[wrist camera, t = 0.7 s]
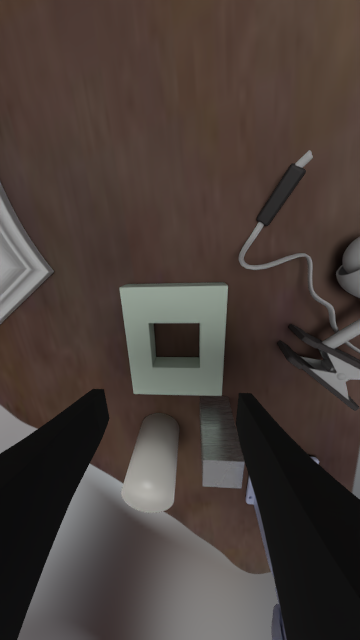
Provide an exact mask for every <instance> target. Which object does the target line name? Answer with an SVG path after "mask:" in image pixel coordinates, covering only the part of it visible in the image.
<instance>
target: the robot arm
mask: <svg viewBox="0 0 360 640" xmlns="http://www.w3.org/2000/svg"><path fill="white" fill-rule="evenodd" d="M108 421H109V414H108V409H107V403H106V398H105V393H104V389H92V390H91V391H89V392H88V393H87V394H85V395H84V396H83V397H81V398H80V399H79V400H77V401H76V402H75V403H73V404H72V405H71V406H69V407H68V408H67V409H65V410H64V411H63V412H61V413H60V414H59V415H57V416H56V417H55V418H53V419H52V420H50V421H49V422H47V423H46V424H45V425H43V426H42V427H40V428H39V429H37V430H36V431H35V432H33V433H32V434H30V435H29V436H27V437H26V438H24V439H23V440H21V441H20V442H18V443H17V444H15V445H14V446H12V447H10V448H9V449H7V450H5V451H4V452H2V453H1V454H0V640H17V638H18V635H19V633H20V630H21V627H22V624H23V621H24V619H25V616H26V613H27V610H28V607H29V605H30V602H31V599H32V597H33V594H34V592H35V589H36V586H37V583H38V581H39V578H40V576H41V573H42V570H43V567H44V565H45V563H46V560H47V557H48V555H49V552H50V550H51V547H52V545H53V542H54V540H55V537H56V535H57V532H58V530H59V528H60V525H61V523H62V520H63V518H64V516H65V513H66V511H67V508H68V506H69V504H70V501H71V499H72V497H73V495H74V493H75V491H76V489H77V487H78V485H79V483H80V481H81V479H82V477H83V475H84V473H85V471H86V469H87V467H88V465H89V463H90V461H91V459H92V457H93V456H94V454H95V452H96V450H97V448H98V446H99V444H100V441H101V439H102V437H103V434H104V432H105V429H106V427H107V424H108ZM236 426H237V432H238V437H239V442H240V447H241V450H242V453H243V457H244V460H245V464H246V467H247V470H248V474H249V478H248V485H247V492H246V502H247V503H248V504H254V507H255V511H256V515H257V519H258V524H259V528H260V532H261V536H262V540H263V544H264V548H265V552H266V556H267V560H268V564H269V567H270V570H271V573H272V575H273V577H274V579H275V584H276V588H275V590H276V594H277V598H278V602H279V604H276V605H275V606H274V609H273V618H272V640H360V499H358V498H357V497H356V496H354V495H353V494H352V493H351V492H350V491H348V490H347V489H346V488H345V487H344V486H342V485H341V484H340V483H339V482H338V481H337V480H335V479H334V478H333V477H332V476H331V475H330V474H329V473H328V472H326V471H325V470H324V469H323V468H322V467H321V466H320V465H319V460H318V459H317V458H316V457H310V456H309V455H308V454H307V453H306V452H305V451H304V450H303V449H302V448H301V447H300V446H299V445H298V444H297V443H296V442H295V441H294V440H293V439H292V438H291V437H290V436H289V435H288V434H287V433H286V432H285V431H284V430H283V429H282V428H281V427H280V426H279V424H278V423H277V422H276V421H275V420H274V419H273V418H272V417H271V416H270V414H269V413H268V412H267V411H266V410H265V409H264V408H263V406H262V405H261V404H260V403H259V402H258V401H257V399H256V398H255V397H254V396H253V395H252V394H251V393H239V399H238V409H237V418H236Z"/></svg>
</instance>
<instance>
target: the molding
mask: <svg viewBox="0 0 360 640" xmlns="http://www.w3.org/2000/svg"><path fill="white" fill-rule="evenodd" d="M52 273H54V271H53V269H52V268H51V267H50V266H49V264H48V263H47V262H46V260H45V259H44V258H43V257H42V255H41V254H40V252H39V251H38V249H37V248H36V247H35V245H34V244H33V242H32V241H31V239H30V238H29V236H28V234H27V233H26V231H25V229H24V228H23V226H22V224H21V222H20V221H19V219H18V217H17V215H16V213H15V212H14V210H13V208H12V206H11V204H10V202H9V200H8V197H7V195H6V193H5V191H4V189H3V186H2V184H1V182H0V324H1V323H2V322H3V321H4V320H5V319H6V318H7V317H8V316H9V315H10V314H11V313H12V312H13V311H14V310H15V309H16V308H17V307H18V306H20V305H21V304H22V303H23V302H24V301H25V300H26V299H27V298H28V297H29V296H30V295H31V294H32V293H33V292H34V291H35V290H36V289H37V288H38V287H39V286H40V285H41V284H42V283H43V282H44V281H45V280H46V279H47V278H48V277H49V276H50V275H51V274H52Z"/></svg>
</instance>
